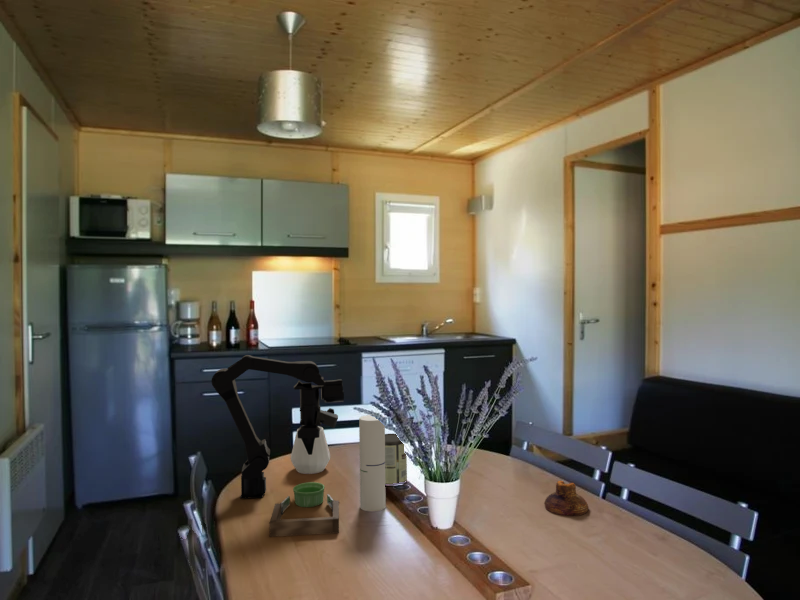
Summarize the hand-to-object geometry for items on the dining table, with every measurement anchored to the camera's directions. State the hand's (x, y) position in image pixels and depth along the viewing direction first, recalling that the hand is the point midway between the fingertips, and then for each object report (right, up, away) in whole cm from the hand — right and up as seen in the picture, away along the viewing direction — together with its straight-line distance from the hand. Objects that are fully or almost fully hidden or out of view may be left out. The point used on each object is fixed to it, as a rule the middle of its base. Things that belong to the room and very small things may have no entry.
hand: (310, 454), depth 169 cm
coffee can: (+24, -11, +7) cm, 28 cm away
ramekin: (+1, -12, -9) cm, 15 cm away
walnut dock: (+3, -11, -24) cm, 27 cm away
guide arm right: (+8, -11, -14) cm, 20 cm away
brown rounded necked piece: (+73, -11, -16) cm, 76 cm away
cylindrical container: (+20, -11, -13) cm, 26 cm away
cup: (-3, -11, +20) cm, 23 cm away
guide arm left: (-4, -11, -15) cm, 20 cm away
